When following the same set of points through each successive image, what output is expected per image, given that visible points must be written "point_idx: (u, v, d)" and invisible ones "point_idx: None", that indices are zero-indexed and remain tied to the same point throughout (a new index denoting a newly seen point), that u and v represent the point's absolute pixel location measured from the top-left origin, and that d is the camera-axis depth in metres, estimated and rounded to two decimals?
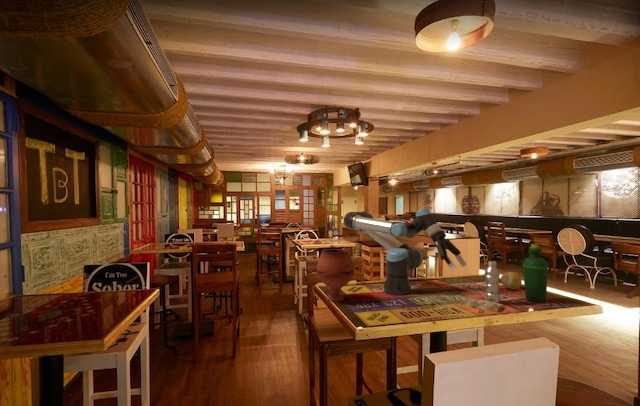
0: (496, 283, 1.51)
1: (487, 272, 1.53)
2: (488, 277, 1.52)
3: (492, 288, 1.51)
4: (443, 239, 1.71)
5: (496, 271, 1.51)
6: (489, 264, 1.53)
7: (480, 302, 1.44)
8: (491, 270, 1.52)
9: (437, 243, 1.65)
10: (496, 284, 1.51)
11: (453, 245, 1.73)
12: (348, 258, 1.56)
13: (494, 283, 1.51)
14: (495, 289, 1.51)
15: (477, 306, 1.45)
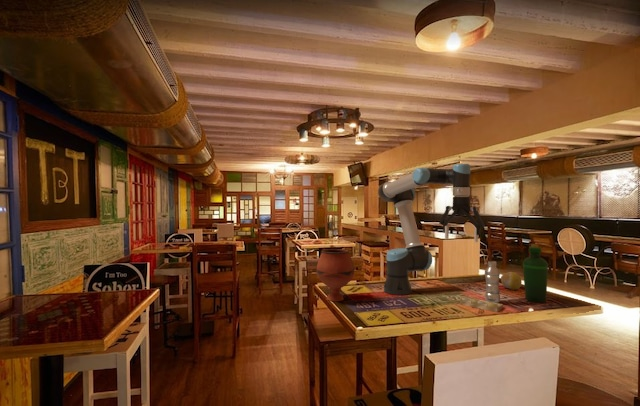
0: (496, 283, 1.51)
1: (487, 272, 1.53)
2: (488, 277, 1.52)
3: (492, 288, 1.51)
4: (462, 206, 1.49)
5: (496, 271, 1.51)
6: (489, 264, 1.53)
7: (480, 302, 1.44)
8: (491, 270, 1.52)
9: None
10: (496, 284, 1.51)
11: (476, 216, 1.45)
12: (348, 258, 1.56)
13: (494, 283, 1.51)
14: (495, 289, 1.51)
15: (477, 306, 1.45)
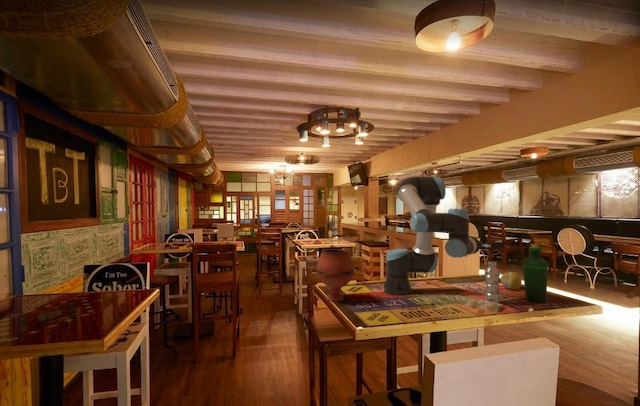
0: (496, 283, 1.51)
1: (487, 272, 1.53)
2: (488, 277, 1.52)
3: (492, 288, 1.51)
4: None
5: (496, 271, 1.51)
6: (489, 264, 1.53)
7: (480, 302, 1.44)
8: (491, 270, 1.52)
9: None
10: (496, 284, 1.51)
11: None
12: (348, 258, 1.56)
13: (494, 283, 1.51)
14: (495, 289, 1.51)
15: (477, 306, 1.45)
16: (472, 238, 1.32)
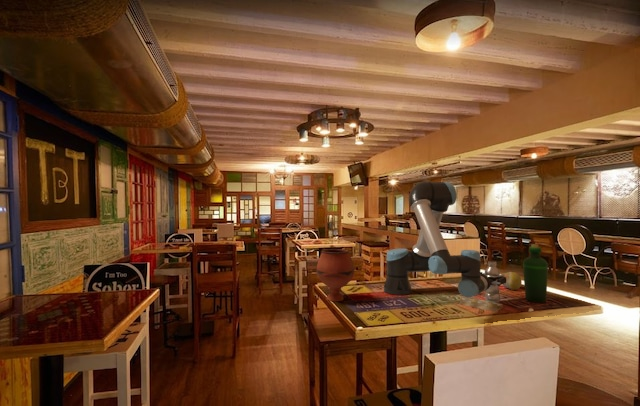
0: None
1: (487, 272, 1.53)
2: None
3: (492, 288, 1.51)
4: None
5: (496, 271, 1.51)
6: (489, 264, 1.53)
7: (480, 302, 1.44)
8: (491, 270, 1.52)
9: None
10: None
11: None
12: (348, 258, 1.56)
13: None
14: (495, 289, 1.51)
15: (477, 306, 1.45)
16: (483, 276, 1.40)
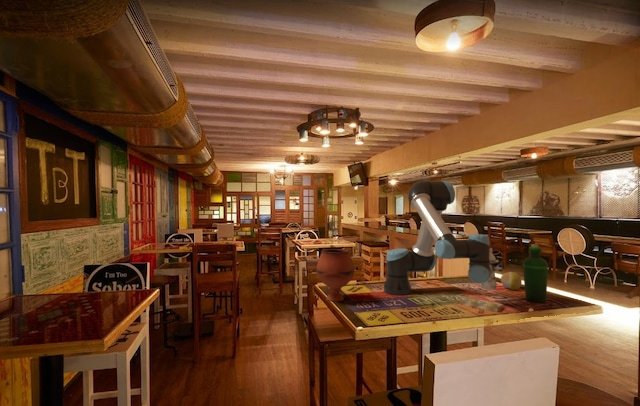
0: None
1: None
2: None
3: None
4: None
5: (493, 257, 1.49)
6: None
7: (480, 302, 1.44)
8: None
9: None
10: None
11: None
12: (348, 258, 1.56)
13: None
14: (492, 275, 1.49)
15: (477, 306, 1.45)
16: None
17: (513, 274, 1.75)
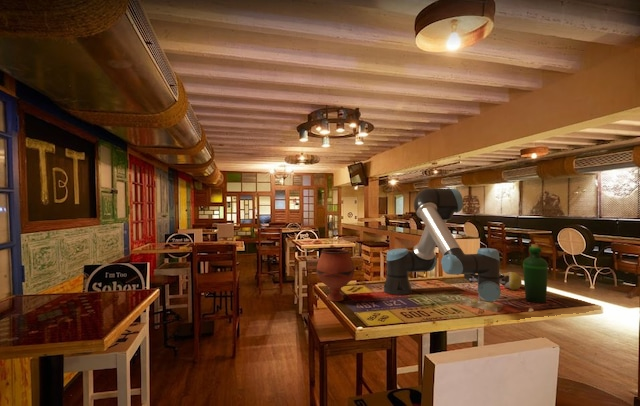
0: None
1: None
2: None
3: None
4: None
5: None
6: None
7: (480, 302, 1.44)
8: None
9: None
10: None
11: None
12: (348, 258, 1.56)
13: None
14: None
15: (477, 306, 1.45)
16: None
17: (513, 274, 1.75)
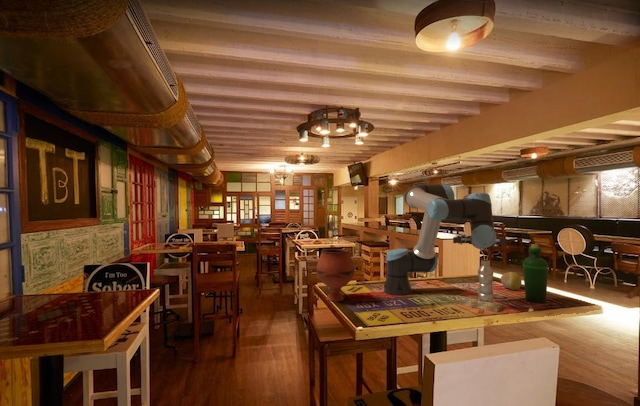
0: (491, 283, 1.45)
1: (482, 272, 1.45)
2: (484, 277, 1.45)
3: (488, 288, 1.44)
4: None
5: (491, 270, 1.45)
6: (484, 263, 1.46)
7: (480, 302, 1.44)
8: (487, 269, 1.45)
9: (461, 240, 1.29)
10: (491, 283, 1.45)
11: (500, 244, 1.26)
12: (348, 258, 1.56)
13: (489, 282, 1.45)
14: (490, 289, 1.45)
15: (477, 306, 1.45)
16: None
17: (513, 274, 1.75)
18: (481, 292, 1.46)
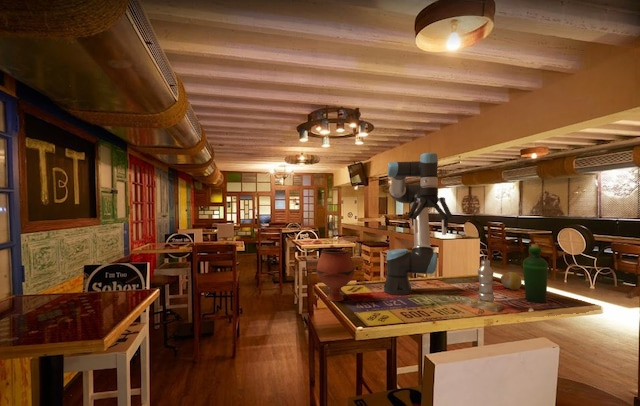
0: (491, 283, 1.45)
1: (482, 272, 1.45)
2: (484, 277, 1.45)
3: (488, 288, 1.44)
4: (429, 197, 1.41)
5: (491, 270, 1.45)
6: (484, 263, 1.46)
7: (480, 302, 1.44)
8: (487, 269, 1.45)
9: None
10: (491, 283, 1.45)
11: (443, 207, 1.37)
12: (348, 258, 1.56)
13: (489, 282, 1.45)
14: (490, 289, 1.45)
15: (477, 306, 1.45)
16: None
17: (513, 274, 1.75)
18: (481, 292, 1.46)
